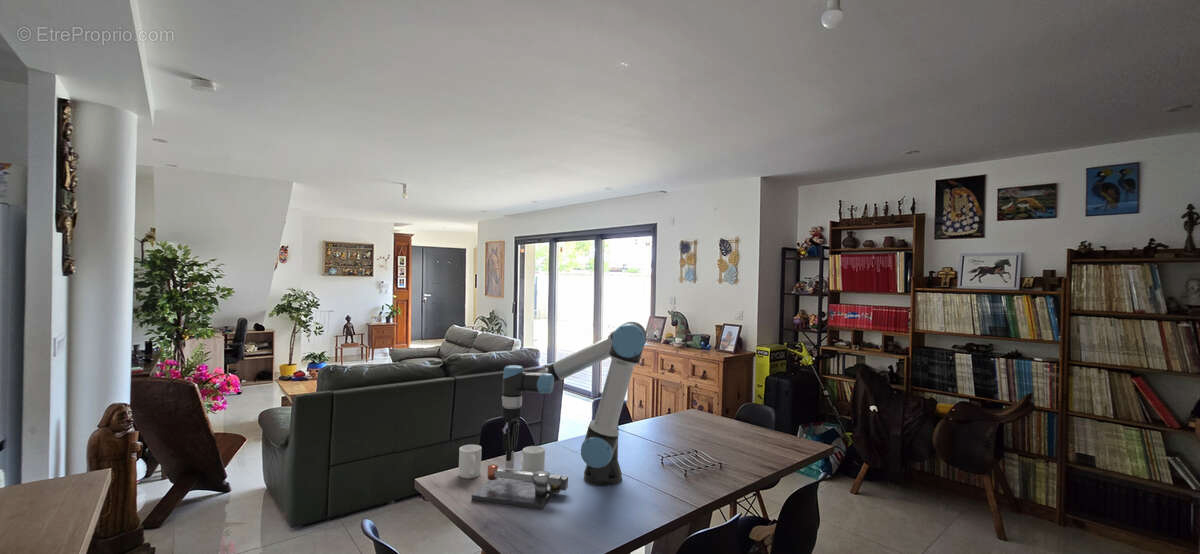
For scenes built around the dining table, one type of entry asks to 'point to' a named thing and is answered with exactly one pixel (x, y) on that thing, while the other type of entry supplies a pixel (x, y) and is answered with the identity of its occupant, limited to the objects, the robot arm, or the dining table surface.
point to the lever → (523, 476)
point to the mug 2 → (533, 459)
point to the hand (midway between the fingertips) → (509, 467)
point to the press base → (518, 493)
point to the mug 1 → (470, 461)
